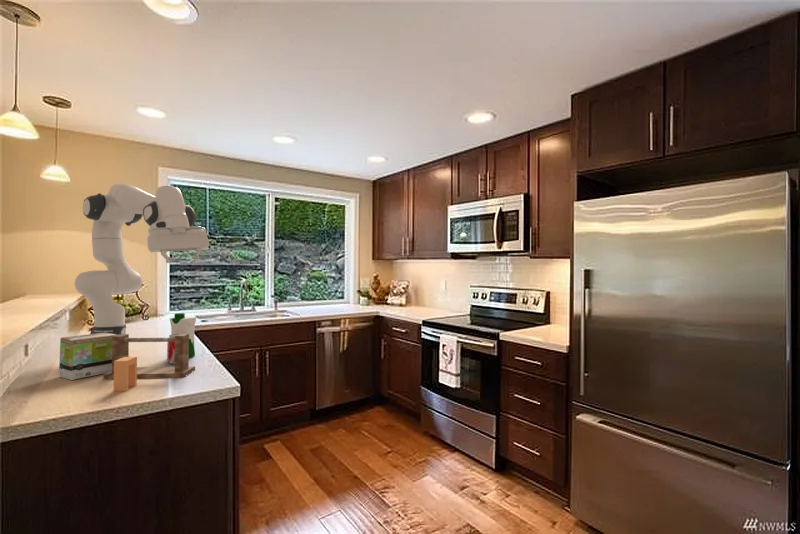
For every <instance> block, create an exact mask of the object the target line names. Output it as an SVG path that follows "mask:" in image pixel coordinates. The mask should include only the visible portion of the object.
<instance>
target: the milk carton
mask: <svg viewBox="0 0 800 534" xmlns="http://www.w3.org/2000/svg"><path fill="white" fill-rule="evenodd" d="M185 315H186V313H184V312H179V313H174V317H171V318H169V321H170V322H169V323H170V327H171V328H170V329H171V330H170V331H171V334H170V335H172V334H189V358H193V357H196V349H195V326H196V320H197V317H196V316H185ZM192 356H193V357H192Z"/></svg>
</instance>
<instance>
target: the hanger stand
mask: <svg viewBox="0 0 800 534" xmlns="http://www.w3.org/2000/svg"><path fill="white" fill-rule="evenodd" d="M129 336H130V335H129V333H126V334H119V335H116V336H113V337H112V371H111V372H108V373H105V374H102V376H103V377H102V378H103V380H106V379H107V378H114V361H116V360H118V359H121V358H123V357H130V356H129V355H130V353H129V350H130V349H129V346H130V345H129V343H168V342H175V364H174V366H137V379H151V378H150V377H168V378H185V377H187V376H188V375H190V374H191V373H192V371H193V372H194V371H196V366H195V365H190V366H189V364H190V363H189V361H190V360H189V359H190V357H189V334H179V335H177V336H175V338H169V337H129ZM186 375H187V376H186ZM104 378H106V379H104ZM107 380H108V379H107Z"/></svg>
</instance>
